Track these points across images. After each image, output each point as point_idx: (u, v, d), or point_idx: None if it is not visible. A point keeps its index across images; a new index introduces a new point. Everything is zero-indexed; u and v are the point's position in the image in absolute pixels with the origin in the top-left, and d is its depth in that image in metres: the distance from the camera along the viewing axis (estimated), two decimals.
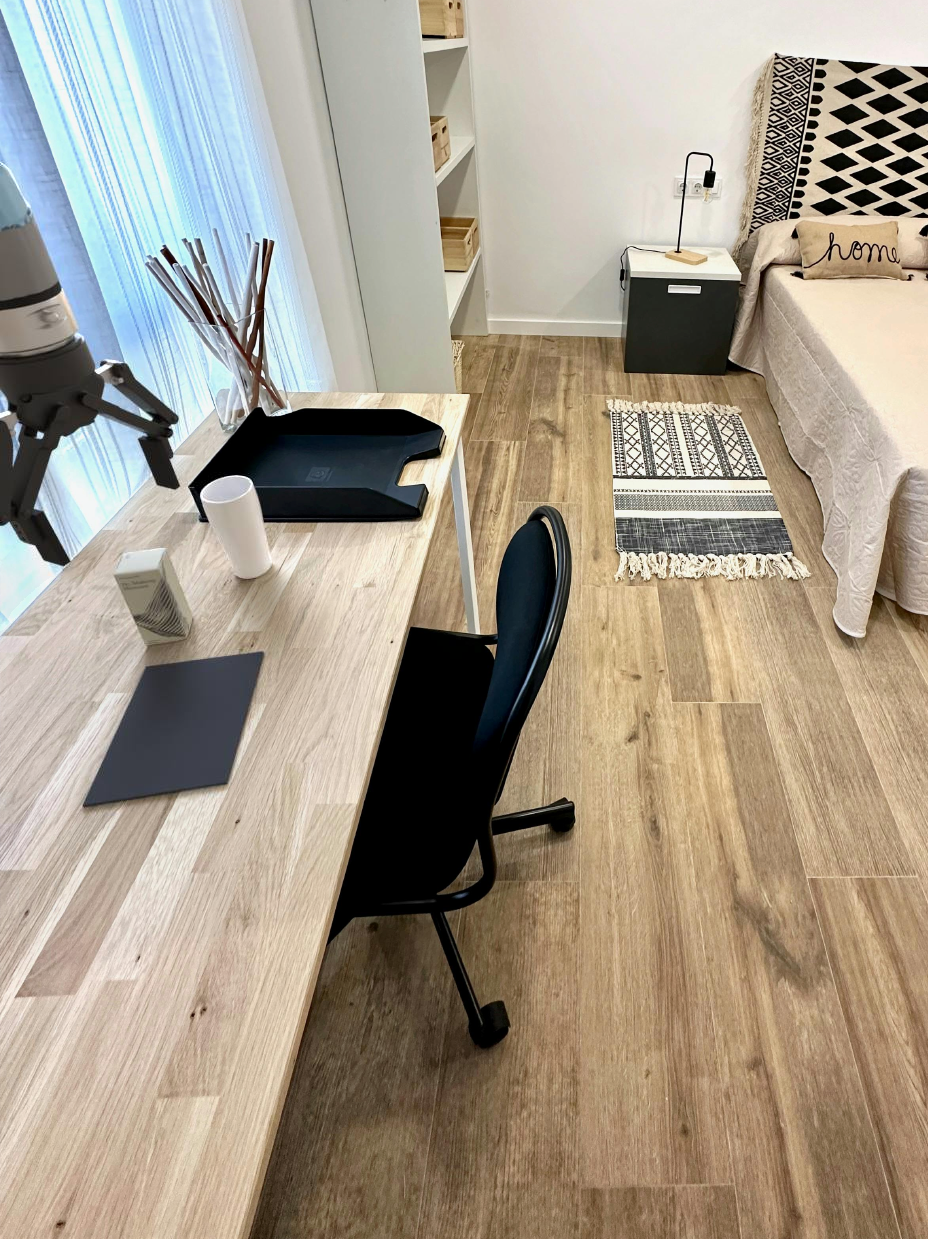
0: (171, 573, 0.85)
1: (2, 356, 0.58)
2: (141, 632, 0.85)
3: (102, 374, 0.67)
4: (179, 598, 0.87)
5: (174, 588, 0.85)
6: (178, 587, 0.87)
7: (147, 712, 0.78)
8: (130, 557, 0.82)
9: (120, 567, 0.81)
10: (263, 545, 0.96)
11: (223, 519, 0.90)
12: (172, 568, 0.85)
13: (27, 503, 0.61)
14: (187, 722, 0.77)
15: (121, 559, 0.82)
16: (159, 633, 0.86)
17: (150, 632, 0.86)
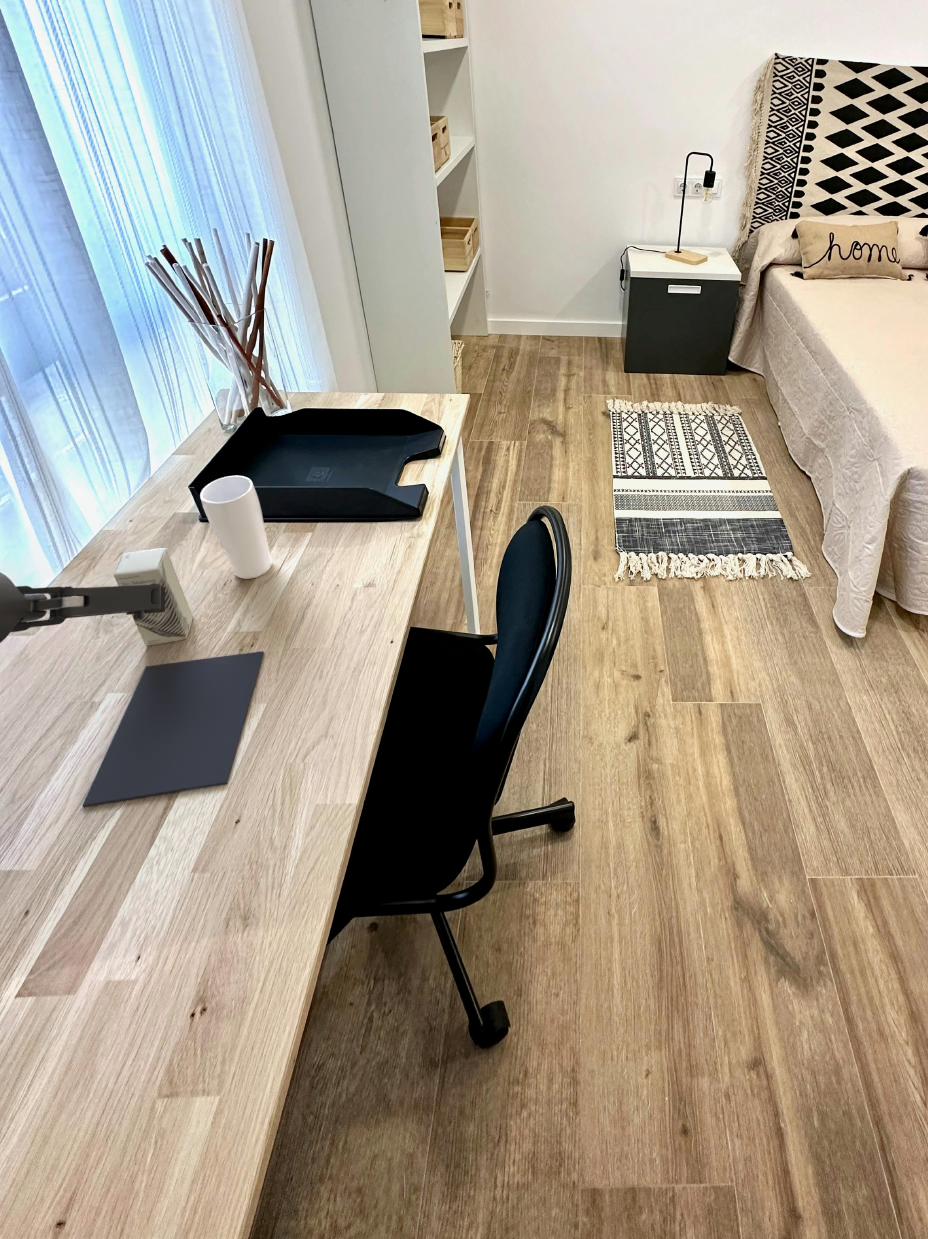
0: (171, 573, 0.85)
1: None
2: (141, 632, 0.85)
3: (44, 610, 0.57)
4: (179, 598, 0.87)
5: (174, 588, 0.85)
6: (178, 587, 0.87)
7: (147, 712, 0.78)
8: (130, 557, 0.82)
9: (120, 567, 0.81)
10: (263, 545, 0.96)
11: (223, 519, 0.90)
12: (172, 568, 0.85)
13: None
14: (187, 722, 0.77)
15: (121, 559, 0.82)
16: (159, 633, 0.86)
17: (150, 632, 0.86)
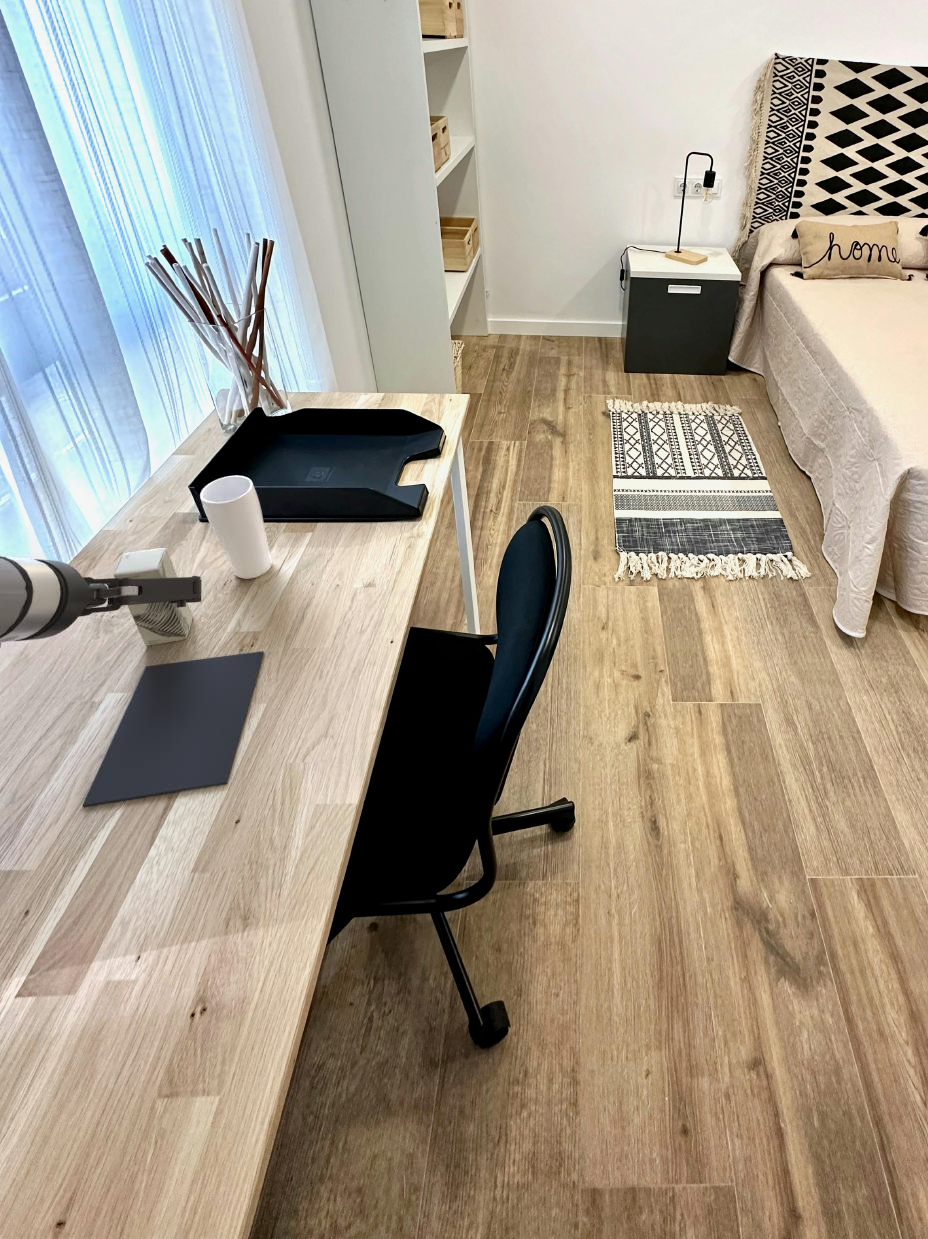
0: (171, 573, 0.85)
1: None
2: (141, 632, 0.85)
3: None
4: None
5: None
6: None
7: (147, 712, 0.78)
8: (130, 557, 0.82)
9: (120, 567, 0.81)
10: (263, 545, 0.96)
11: (223, 519, 0.90)
12: (172, 568, 0.85)
13: None
14: (187, 722, 0.77)
15: (121, 559, 0.82)
16: (159, 633, 0.86)
17: (150, 632, 0.86)
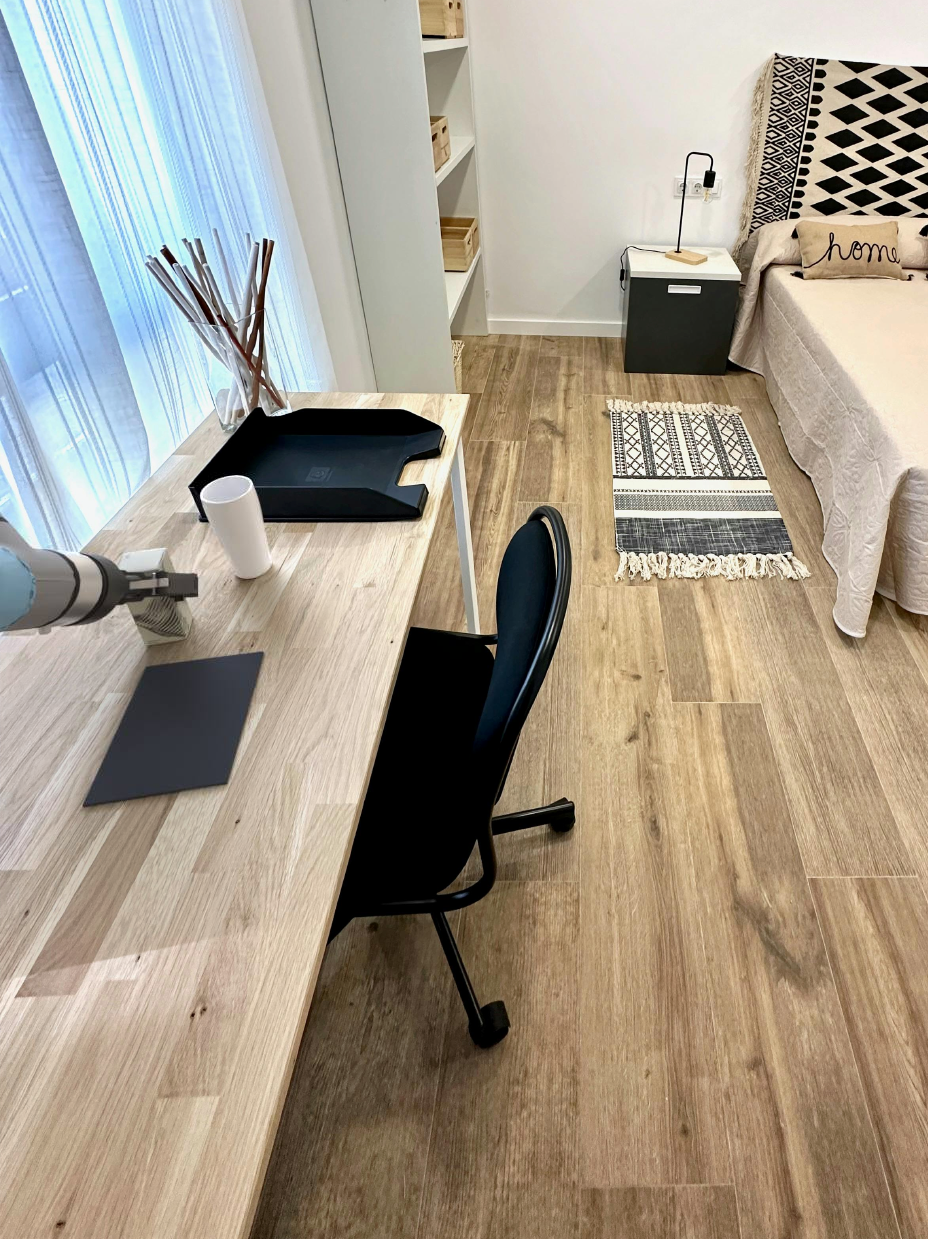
0: None
1: None
2: (141, 632, 0.85)
3: (142, 588, 0.74)
4: None
5: None
6: None
7: (147, 712, 0.78)
8: (130, 557, 0.82)
9: (120, 567, 0.81)
10: (263, 545, 0.96)
11: (223, 519, 0.90)
12: (172, 568, 0.85)
13: None
14: (187, 722, 0.77)
15: (121, 559, 0.82)
16: (159, 633, 0.86)
17: (150, 632, 0.86)
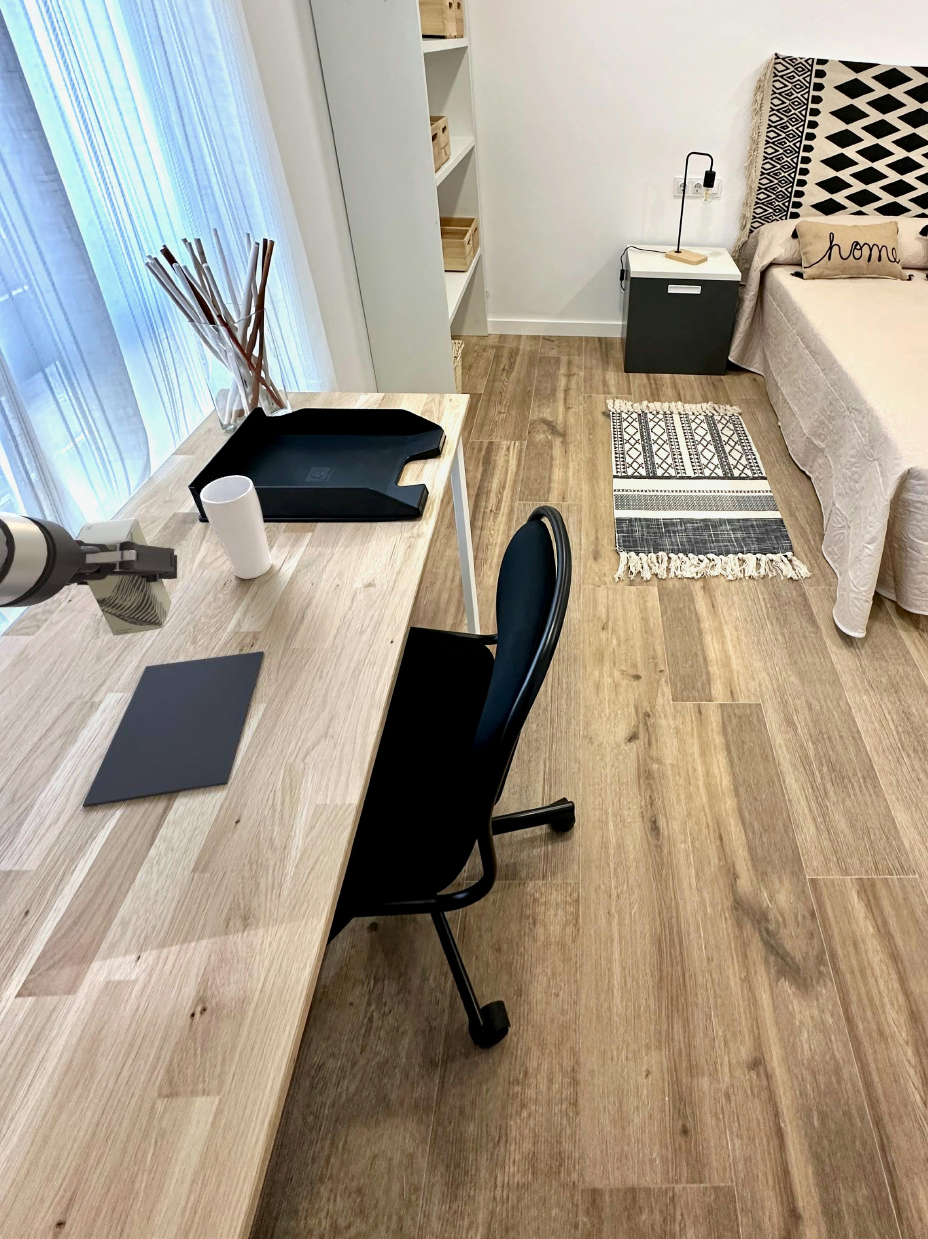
0: None
1: None
2: (107, 620, 0.71)
3: (103, 562, 0.60)
4: None
5: None
6: None
7: (147, 712, 0.78)
8: (92, 528, 0.68)
9: None
10: (263, 545, 0.96)
11: (223, 519, 0.90)
12: (144, 542, 0.71)
13: None
14: (187, 722, 0.77)
15: (81, 531, 0.68)
16: (129, 621, 0.72)
17: (118, 620, 0.71)
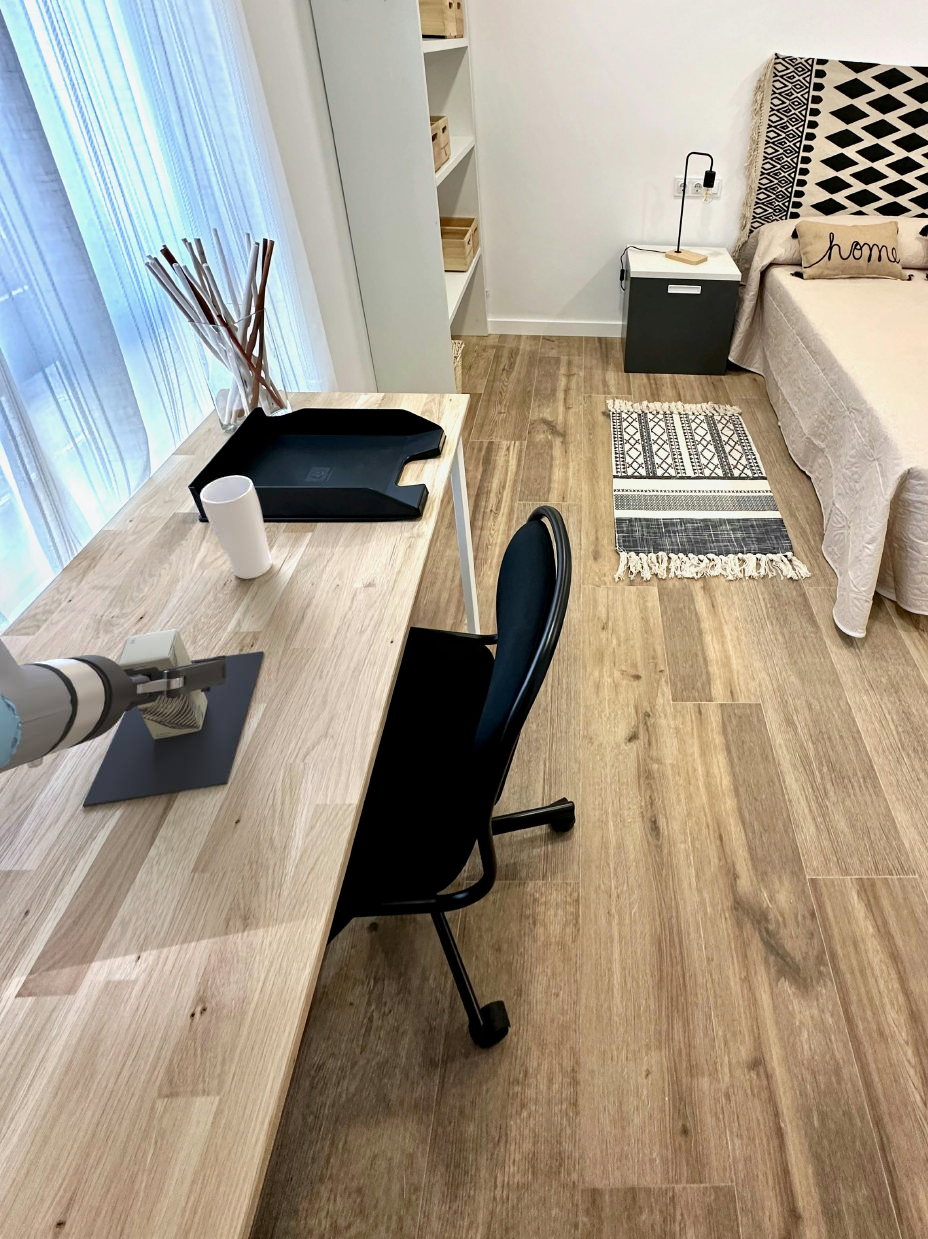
0: (183, 657, 0.73)
1: None
2: (149, 725, 0.74)
3: (151, 692, 0.62)
4: None
5: None
6: None
7: None
8: (136, 642, 0.71)
9: (124, 656, 0.69)
10: (263, 545, 0.96)
11: (223, 519, 0.90)
12: (184, 651, 0.74)
13: None
14: None
15: (126, 645, 0.71)
16: (169, 726, 0.74)
17: (159, 726, 0.74)
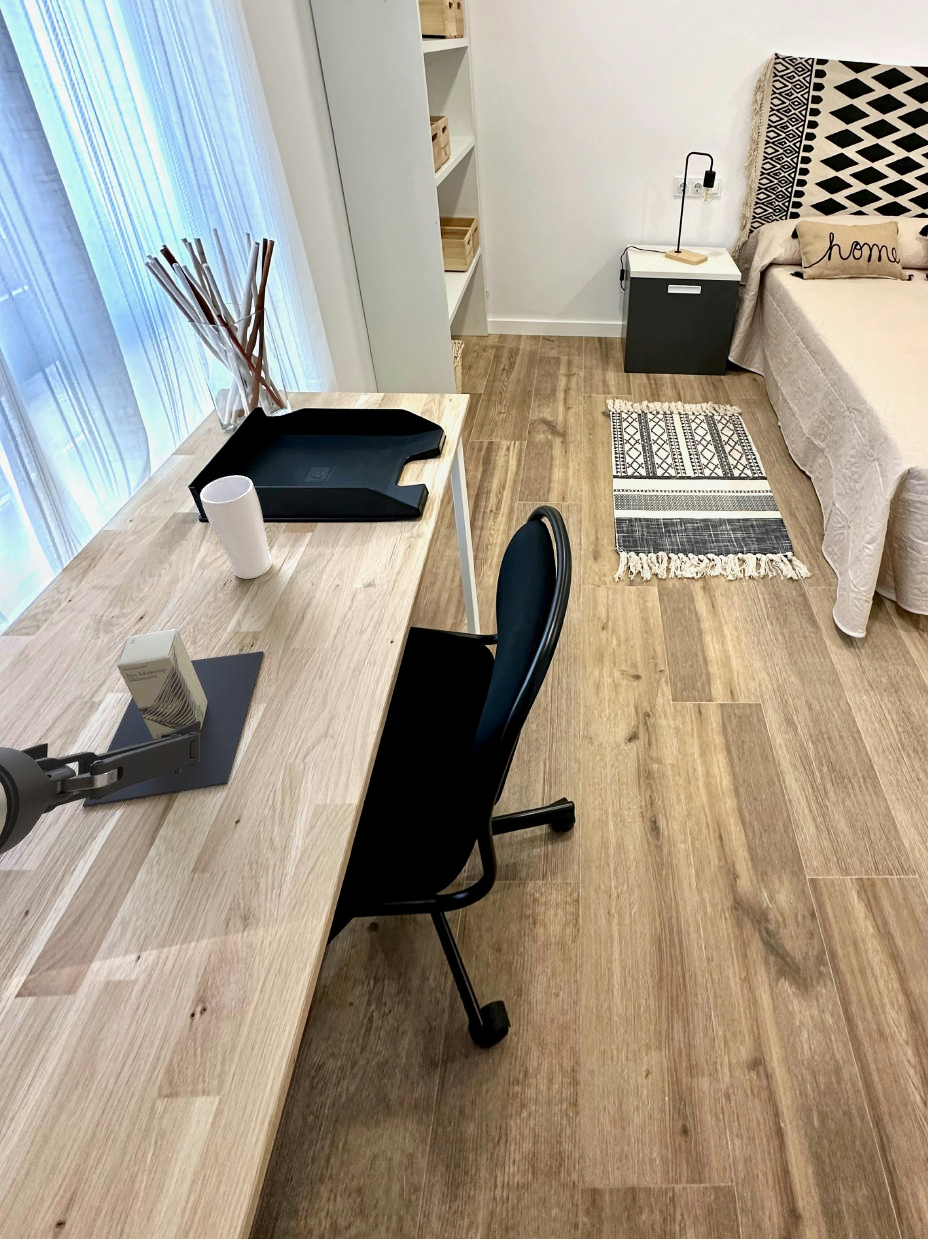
0: (183, 657, 0.73)
1: None
2: (149, 725, 0.74)
3: (73, 790, 0.50)
4: (192, 685, 0.75)
5: (187, 674, 0.74)
6: (191, 672, 0.75)
7: None
8: (136, 642, 0.71)
9: (124, 656, 0.69)
10: (263, 545, 0.96)
11: (223, 519, 0.90)
12: (184, 651, 0.74)
13: None
14: None
15: (126, 645, 0.71)
16: (169, 726, 0.74)
17: (159, 726, 0.74)
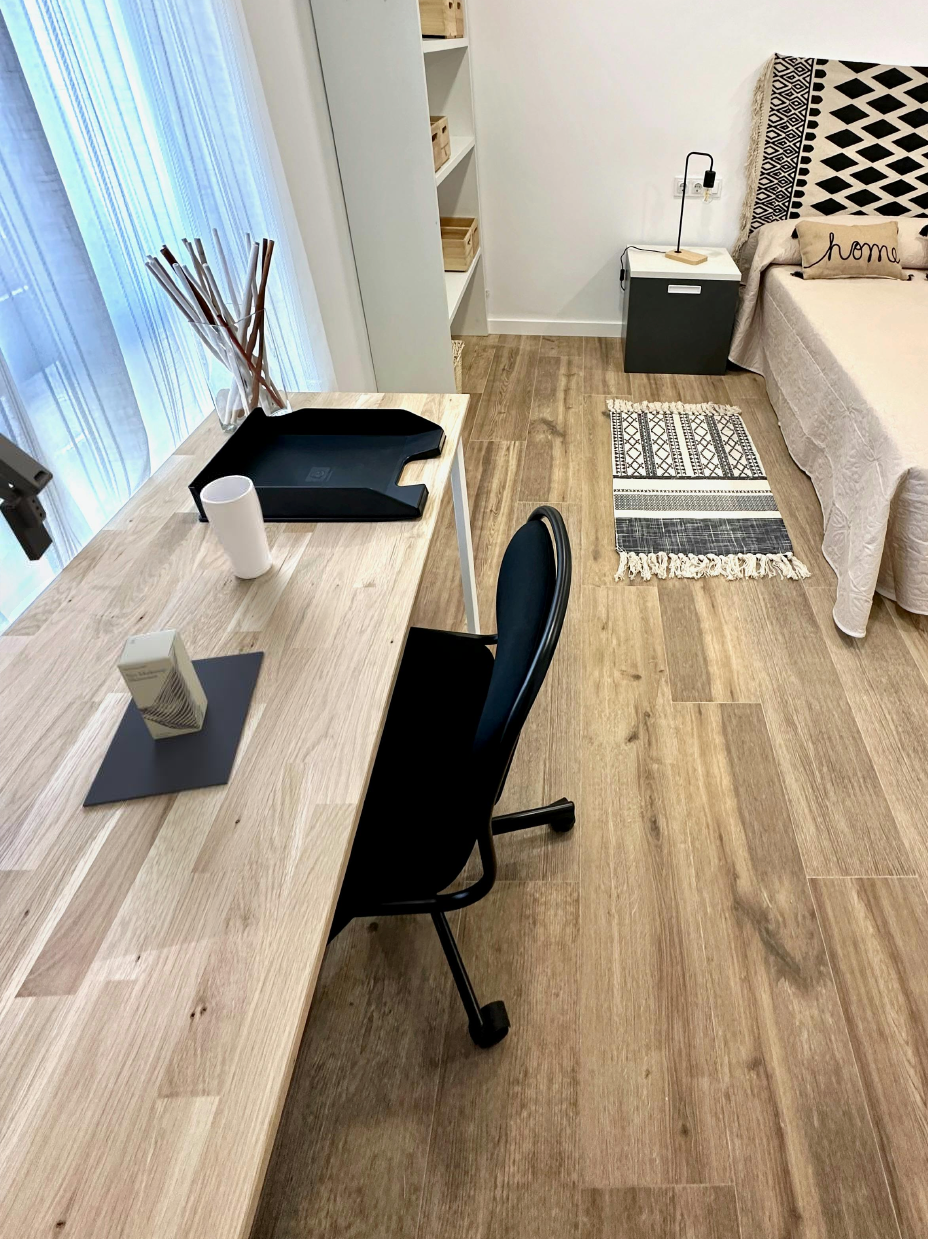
0: (183, 657, 0.73)
1: None
2: (149, 725, 0.74)
3: None
4: (192, 685, 0.75)
5: (187, 674, 0.74)
6: (191, 672, 0.75)
7: None
8: (136, 642, 0.71)
9: (124, 656, 0.69)
10: (263, 545, 0.96)
11: (223, 519, 0.90)
12: (184, 651, 0.74)
13: None
14: None
15: (126, 645, 0.71)
16: (169, 726, 0.74)
17: (159, 726, 0.74)
